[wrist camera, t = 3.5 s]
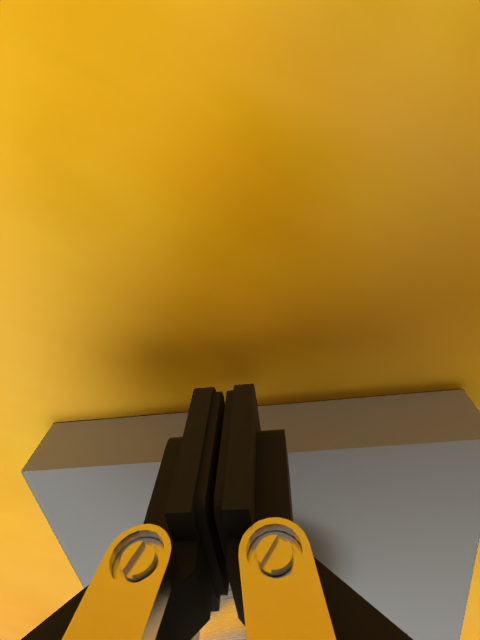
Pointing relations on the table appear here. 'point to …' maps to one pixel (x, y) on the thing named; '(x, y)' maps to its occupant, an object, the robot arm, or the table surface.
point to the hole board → (306, 494)
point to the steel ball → (224, 622)
